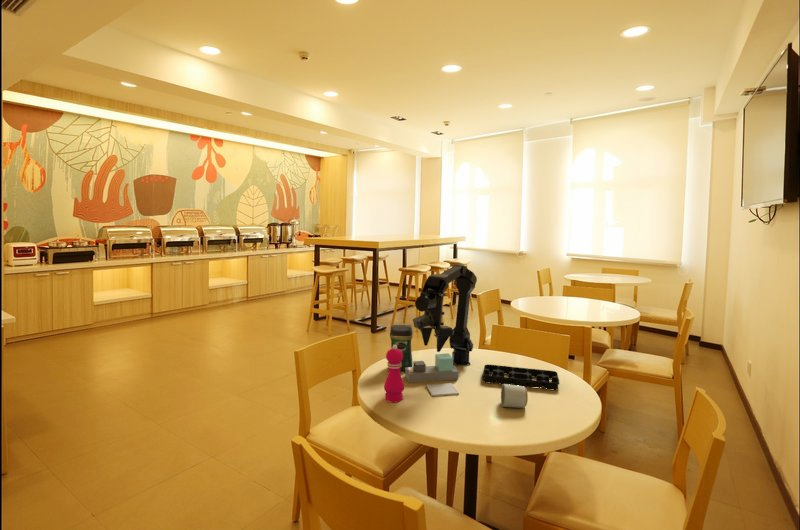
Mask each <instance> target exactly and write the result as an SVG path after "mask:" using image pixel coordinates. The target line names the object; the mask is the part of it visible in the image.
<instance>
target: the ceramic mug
mask: <svg viewBox="0 0 800 530" xmlns="http://www.w3.org/2000/svg"><path fill="white" fill-rule="evenodd" d="M528 393H529V392H528V390H527V388H526V387H523V386H517V385H514V384H511V385H509V384H501V389H500V403H501V407H504V408H518V409H519V408H525V407H527V406H528V400H529V398H528V396H529V395H528Z"/></svg>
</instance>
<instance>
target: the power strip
mask: <svg viewBox="0 0 800 530" xmlns="http://www.w3.org/2000/svg"><path fill="white" fill-rule="evenodd" d="M412 363H413V366H412V367H406V368H405V371H404V376H405V379H406V378H407V379H406V380H408V381H407V383H408V382H409V383H408V384H411V383H410V382H415V383H428V382H427V381H431V382H439V381H438V380H446V381H455V380H454V379H458V380H459V370H458V369H457V367H456V365H455V364H453V371H443V372H439V371H438V370H437V368H436V367H435V365H429V366H428V365H427V364H426V362H425V361H424V360H415V361H413V360H412ZM454 365H455V366H454Z"/></svg>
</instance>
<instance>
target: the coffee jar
mask: <svg viewBox="0 0 800 530" xmlns="http://www.w3.org/2000/svg"><path fill="white" fill-rule="evenodd" d="M389 331H390V332H389V338H390V340H391V342H390V343H391V344H390V345H391V346H390V349H393V348H392V346H393V345H397V349H399V350H401V351H402V353H403V359H402V361H401V363H402V364H401V365H402V366H401V367H400V370H401V371H403V372H405V368H406V367H413V352H412V351H413V350H412V339H413V337H414V332H413V327H412V325H411V324H392V325H391V326H390V330H389ZM401 371H400V372H401Z"/></svg>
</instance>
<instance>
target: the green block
mask: <svg viewBox="0 0 800 530" xmlns="http://www.w3.org/2000/svg"><path fill="white" fill-rule="evenodd" d="M434 356H435V357H434V358H435V359H434V360H435V361H434V363H435V364H434V366H435V367H436V368H437V370H438V371H439V372H443V371H453V365H454V362H453V358H452V354H450V353H449V352H447V353H435V355H434Z"/></svg>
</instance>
